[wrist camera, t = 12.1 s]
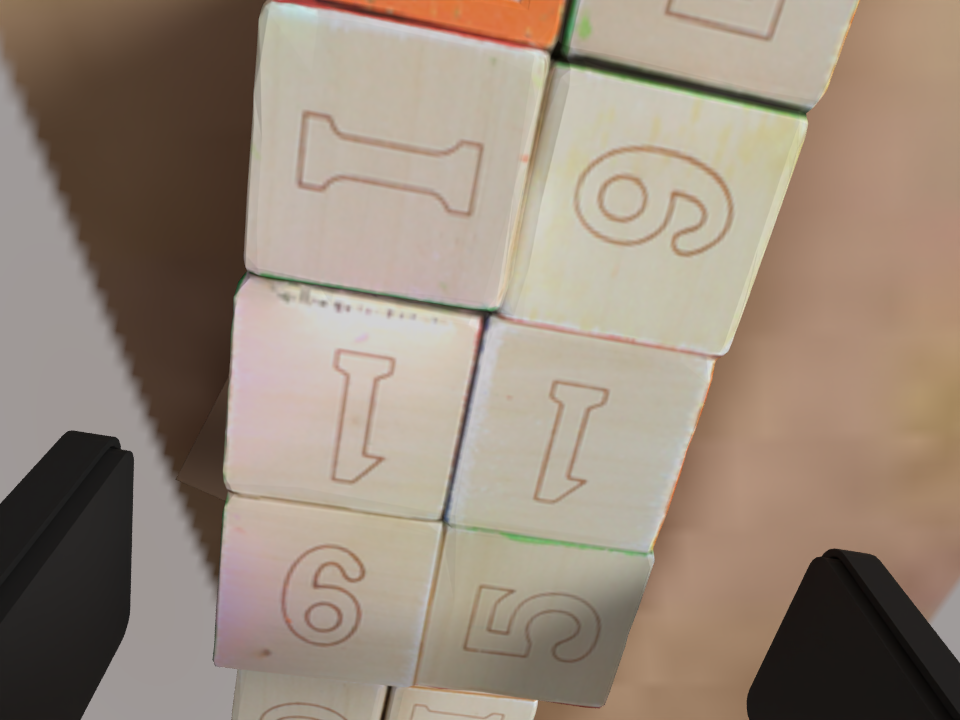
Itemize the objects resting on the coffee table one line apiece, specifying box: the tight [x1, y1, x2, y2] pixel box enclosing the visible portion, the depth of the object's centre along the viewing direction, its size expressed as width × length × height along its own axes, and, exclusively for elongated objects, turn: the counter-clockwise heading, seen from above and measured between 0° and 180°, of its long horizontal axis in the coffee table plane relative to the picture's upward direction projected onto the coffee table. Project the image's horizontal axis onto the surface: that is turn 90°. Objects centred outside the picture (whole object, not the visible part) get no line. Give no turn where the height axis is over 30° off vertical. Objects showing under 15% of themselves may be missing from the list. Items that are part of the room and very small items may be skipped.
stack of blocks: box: [213, 0, 860, 720], centre depth 16 cm, size 21×6×12 cm, turn 168°
